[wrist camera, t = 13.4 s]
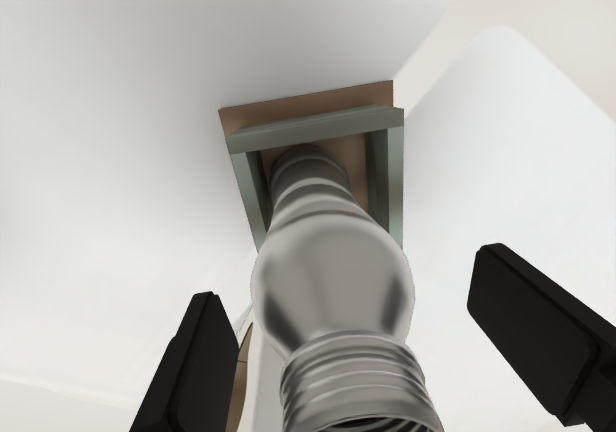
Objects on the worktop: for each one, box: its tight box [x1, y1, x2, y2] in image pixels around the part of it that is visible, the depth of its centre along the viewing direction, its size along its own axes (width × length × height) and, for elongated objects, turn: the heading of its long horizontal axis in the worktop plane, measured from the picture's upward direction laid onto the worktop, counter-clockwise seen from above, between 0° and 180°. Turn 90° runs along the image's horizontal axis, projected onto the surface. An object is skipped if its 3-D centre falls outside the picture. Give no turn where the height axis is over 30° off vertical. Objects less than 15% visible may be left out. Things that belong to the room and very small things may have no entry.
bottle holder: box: [218, 80, 404, 252], centre depth 21 cm, size 14×14×7 cm
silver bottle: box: [250, 146, 444, 432], centre depth 15 cm, size 6×7×20 cm
